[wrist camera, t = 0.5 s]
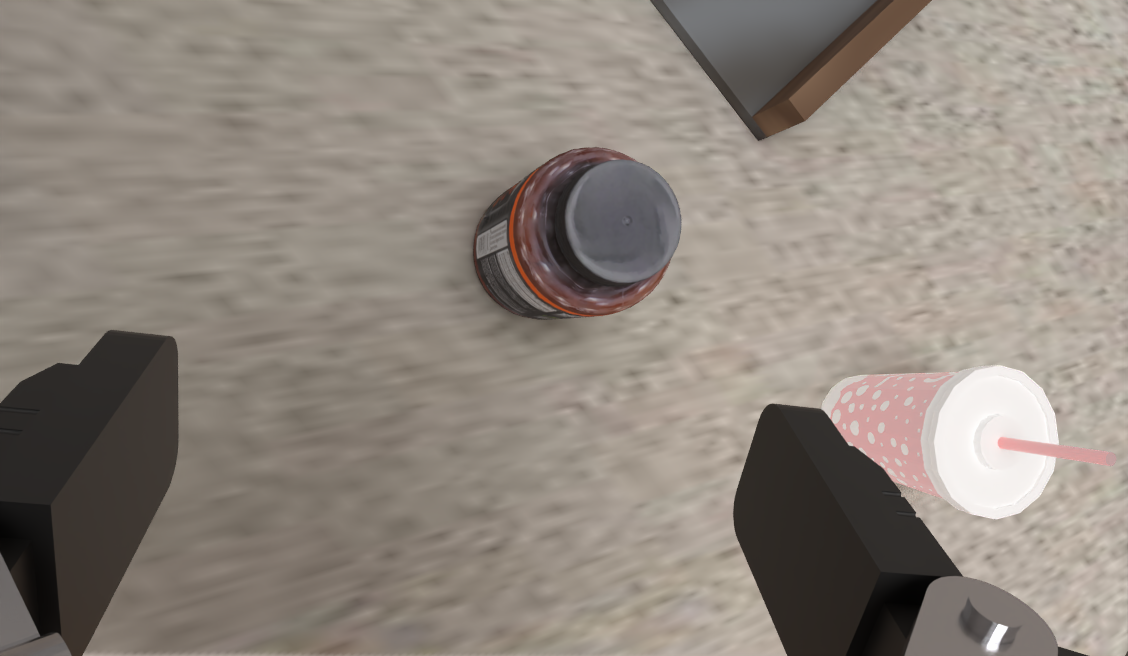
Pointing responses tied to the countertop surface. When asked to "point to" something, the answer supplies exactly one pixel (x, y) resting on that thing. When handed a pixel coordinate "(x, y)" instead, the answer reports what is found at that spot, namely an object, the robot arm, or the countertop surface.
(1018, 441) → the beverage cup
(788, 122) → the frame
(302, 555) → the countertop surface
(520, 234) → the supplement bottle
